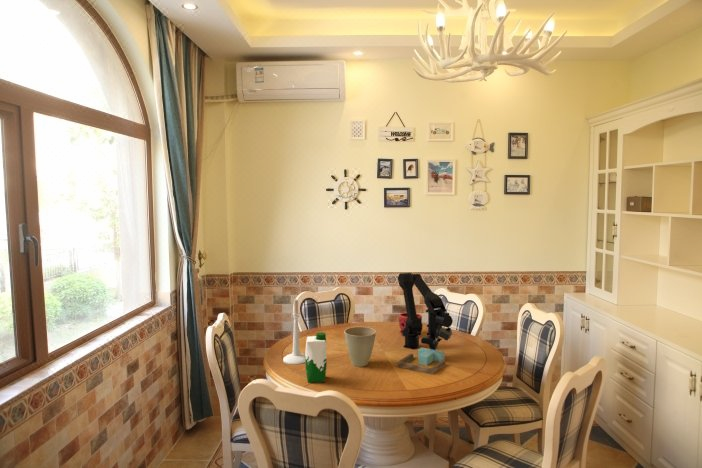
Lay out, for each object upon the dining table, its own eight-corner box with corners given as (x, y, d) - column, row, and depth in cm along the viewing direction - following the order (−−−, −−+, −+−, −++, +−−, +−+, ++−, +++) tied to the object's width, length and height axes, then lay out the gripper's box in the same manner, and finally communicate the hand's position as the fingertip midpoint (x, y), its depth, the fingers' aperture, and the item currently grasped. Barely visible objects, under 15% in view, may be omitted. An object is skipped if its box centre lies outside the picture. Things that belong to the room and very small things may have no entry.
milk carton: (326, 383, 190) (326, 336, 189) (305, 383, 189) (305, 337, 188) (326, 375, 199) (326, 330, 197) (305, 375, 198) (305, 331, 197)
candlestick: (298, 353, 227) (298, 295, 225) (314, 359, 218) (314, 298, 216) (277, 359, 218) (277, 298, 216) (293, 366, 209) (293, 303, 207)
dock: (396, 366, 209) (397, 362, 209) (410, 357, 221) (410, 353, 221) (433, 374, 200) (433, 370, 199) (445, 364, 212) (445, 360, 211)
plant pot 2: (423, 338, 253) (423, 317, 252) (399, 338, 253) (400, 317, 252) (419, 331, 266) (420, 311, 265) (397, 331, 266) (397, 311, 265)
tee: (410, 362, 215) (411, 354, 214) (421, 355, 225) (421, 347, 224) (434, 367, 208) (434, 358, 208) (444, 359, 218) (444, 351, 218)
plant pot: (339, 361, 216) (339, 328, 215) (367, 357, 222) (367, 325, 221) (351, 371, 203) (351, 337, 201) (381, 367, 208) (381, 333, 207)
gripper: (442, 329, 209) (442, 362, 210) (456, 320, 225) (456, 351, 226) (420, 326, 215) (420, 358, 216) (435, 317, 231) (435, 347, 232)
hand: (433, 353), depth 222 cm, fingers closed
